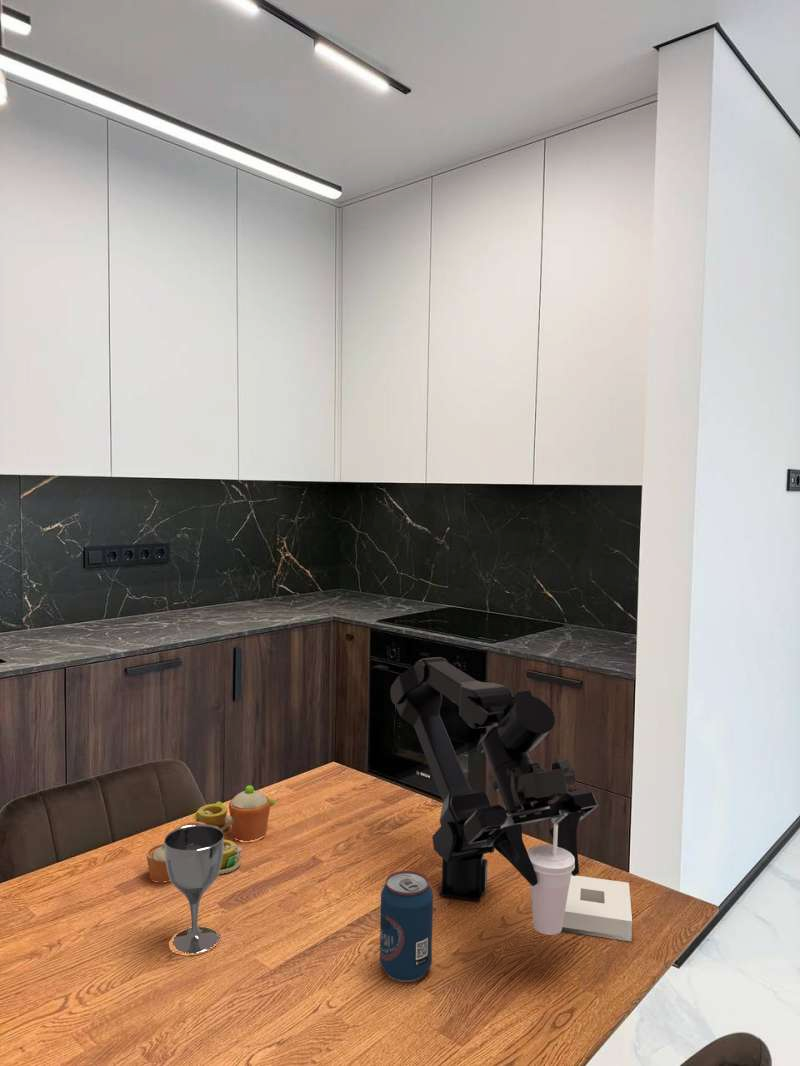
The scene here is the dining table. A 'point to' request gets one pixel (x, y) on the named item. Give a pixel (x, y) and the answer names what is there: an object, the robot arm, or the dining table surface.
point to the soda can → (406, 926)
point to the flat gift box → (598, 908)
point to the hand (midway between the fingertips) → (556, 879)
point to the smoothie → (550, 885)
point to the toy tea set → (246, 824)
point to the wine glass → (194, 876)
